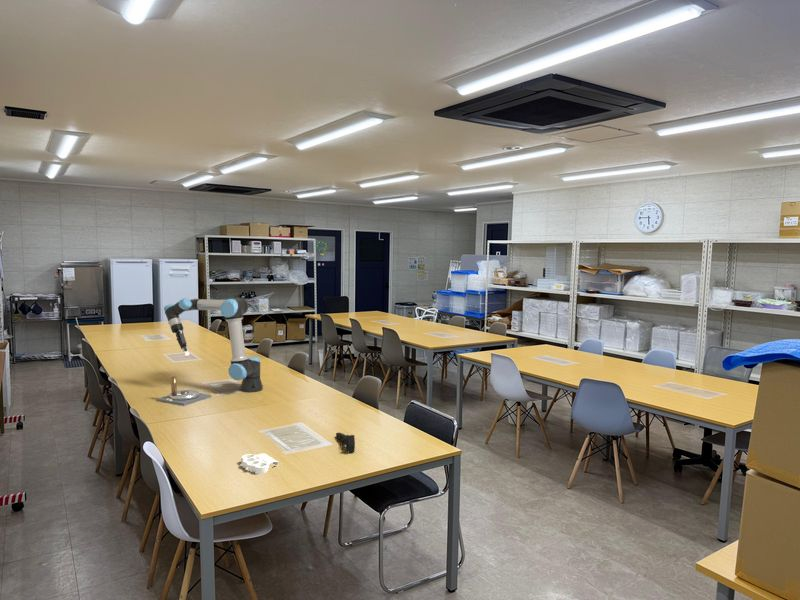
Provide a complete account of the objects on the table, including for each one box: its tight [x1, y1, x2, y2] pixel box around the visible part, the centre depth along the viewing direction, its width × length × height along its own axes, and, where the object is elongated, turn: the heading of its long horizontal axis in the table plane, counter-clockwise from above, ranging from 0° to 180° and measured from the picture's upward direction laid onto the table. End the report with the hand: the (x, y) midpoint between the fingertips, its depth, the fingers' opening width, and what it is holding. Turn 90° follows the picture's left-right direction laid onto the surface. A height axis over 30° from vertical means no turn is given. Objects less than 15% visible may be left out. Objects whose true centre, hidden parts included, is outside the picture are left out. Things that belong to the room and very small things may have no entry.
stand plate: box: [156, 392, 212, 407], centre depth 342 cm, size 23×23×2 cm
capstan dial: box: [168, 375, 200, 400], centre depth 341 cm, size 18×18×14 cm
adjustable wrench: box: [335, 432, 356, 454], centre depth 265 cm, size 8×3×25 cm
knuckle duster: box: [239, 453, 280, 475], centre depth 237 cm, size 3×18×15 cm
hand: (187, 356), depth 355 cm, fingers closed
